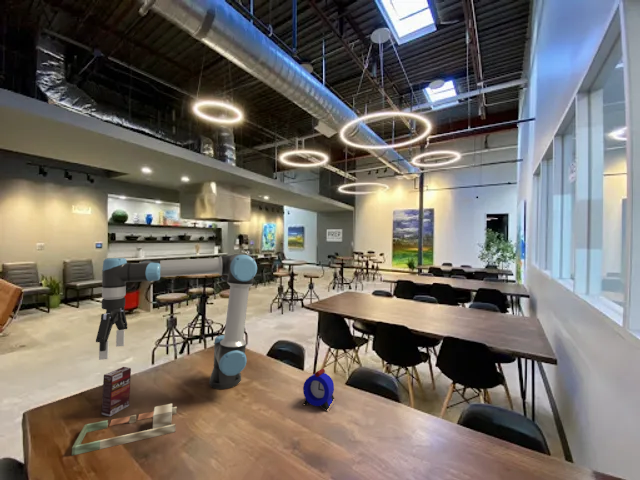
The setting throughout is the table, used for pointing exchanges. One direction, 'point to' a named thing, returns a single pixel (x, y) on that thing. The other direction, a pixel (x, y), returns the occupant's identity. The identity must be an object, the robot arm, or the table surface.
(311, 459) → the table surface
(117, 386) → the supplement box
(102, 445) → the channel
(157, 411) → the cream white block
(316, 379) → the alarm clock
